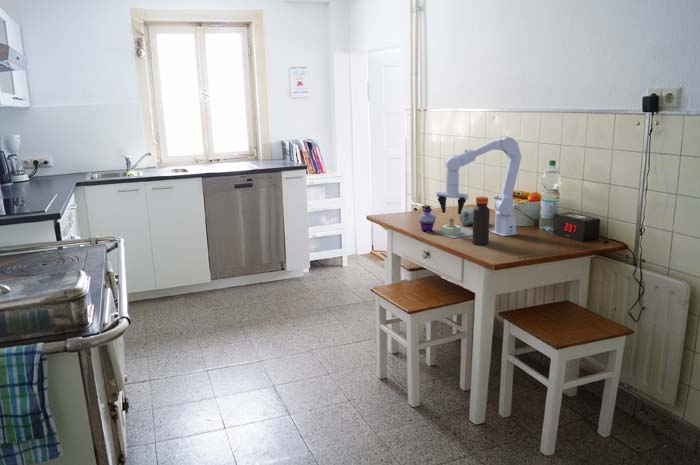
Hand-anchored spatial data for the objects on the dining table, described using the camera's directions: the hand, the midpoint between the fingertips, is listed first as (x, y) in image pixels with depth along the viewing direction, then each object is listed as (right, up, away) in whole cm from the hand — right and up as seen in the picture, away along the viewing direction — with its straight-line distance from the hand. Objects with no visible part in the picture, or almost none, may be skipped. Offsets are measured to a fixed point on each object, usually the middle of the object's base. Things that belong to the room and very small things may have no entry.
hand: (451, 213), depth 263 cm
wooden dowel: (0, -9, +2) cm, 9 cm away
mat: (+3, -9, +3) cm, 10 cm away
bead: (0, -9, +2) cm, 9 cm away
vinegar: (+9, -14, -16) cm, 23 cm away
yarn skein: (+14, -5, +21) cm, 26 cm away
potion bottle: (-10, -8, +9) cm, 16 cm away
